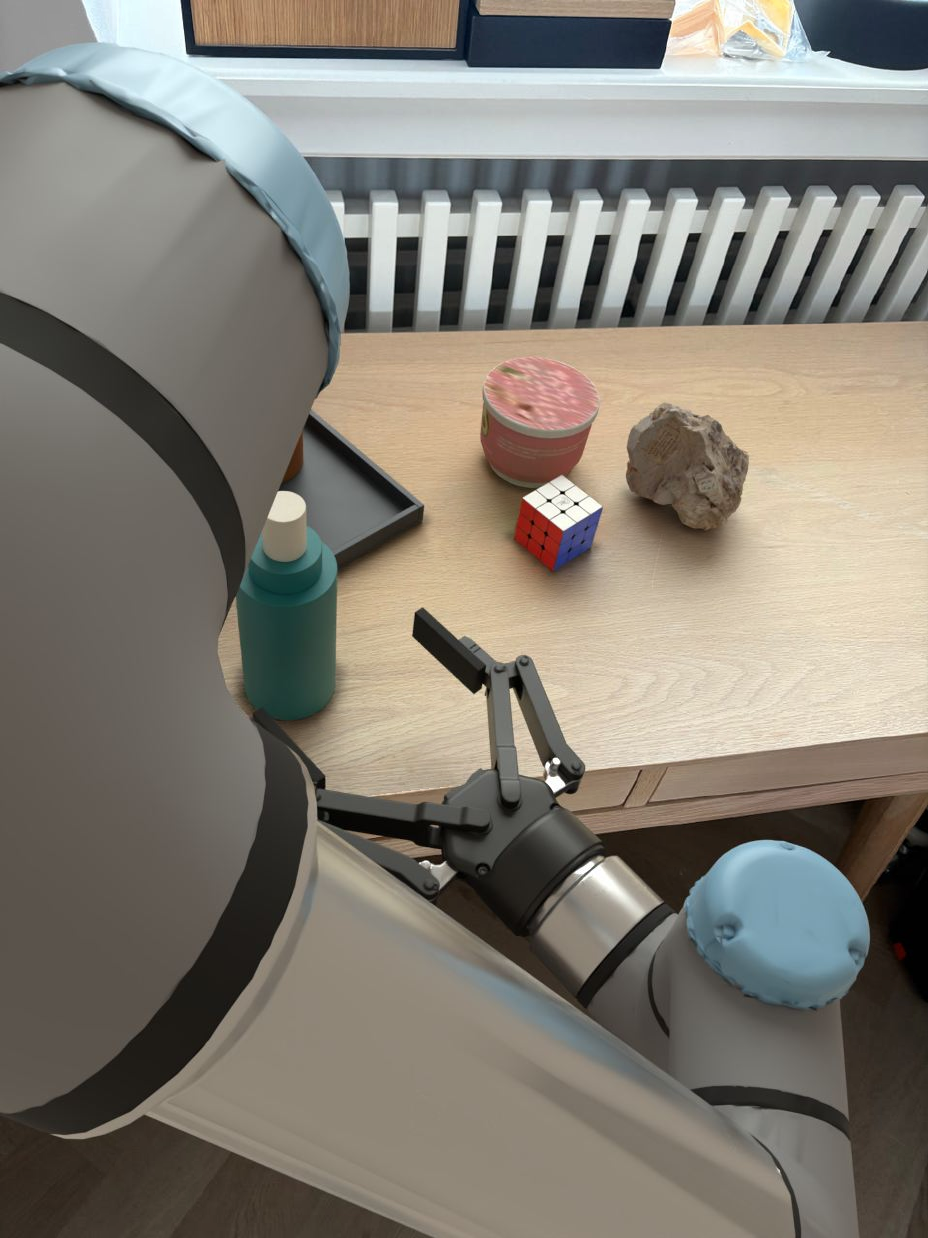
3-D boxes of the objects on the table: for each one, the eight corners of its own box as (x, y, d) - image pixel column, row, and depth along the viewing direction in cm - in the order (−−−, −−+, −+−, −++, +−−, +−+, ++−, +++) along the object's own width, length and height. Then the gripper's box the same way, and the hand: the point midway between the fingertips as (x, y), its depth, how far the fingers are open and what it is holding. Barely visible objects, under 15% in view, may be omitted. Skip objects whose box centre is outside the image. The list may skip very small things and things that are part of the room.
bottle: (280, 736, 75) (271, 562, 60) (226, 677, 77) (204, 498, 63) (353, 689, 78) (360, 513, 64) (298, 634, 81) (294, 454, 66)
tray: (302, 590, 84) (301, 573, 82) (116, 409, 95) (113, 392, 94) (423, 521, 90) (424, 504, 89) (235, 360, 102) (234, 343, 100)
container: (502, 410, 101) (514, 342, 95) (599, 450, 99) (617, 383, 93) (453, 470, 95) (462, 401, 89) (555, 514, 93) (572, 446, 86)
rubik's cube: (512, 538, 90) (521, 497, 86) (552, 514, 92) (562, 473, 89) (552, 572, 88) (562, 531, 84) (592, 547, 90) (604, 507, 87)
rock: (700, 567, 94) (786, 493, 90) (626, 512, 87) (717, 428, 83) (661, 507, 100) (740, 436, 97) (589, 451, 93) (672, 371, 89)
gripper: (402, 1061, 57) (187, 800, 66) (682, 808, 69) (469, 617, 78) (411, 1015, 51) (174, 736, 60) (714, 748, 64) (481, 550, 72)
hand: (341, 669), depth 69 cm, fingers open, 13 cm apart
